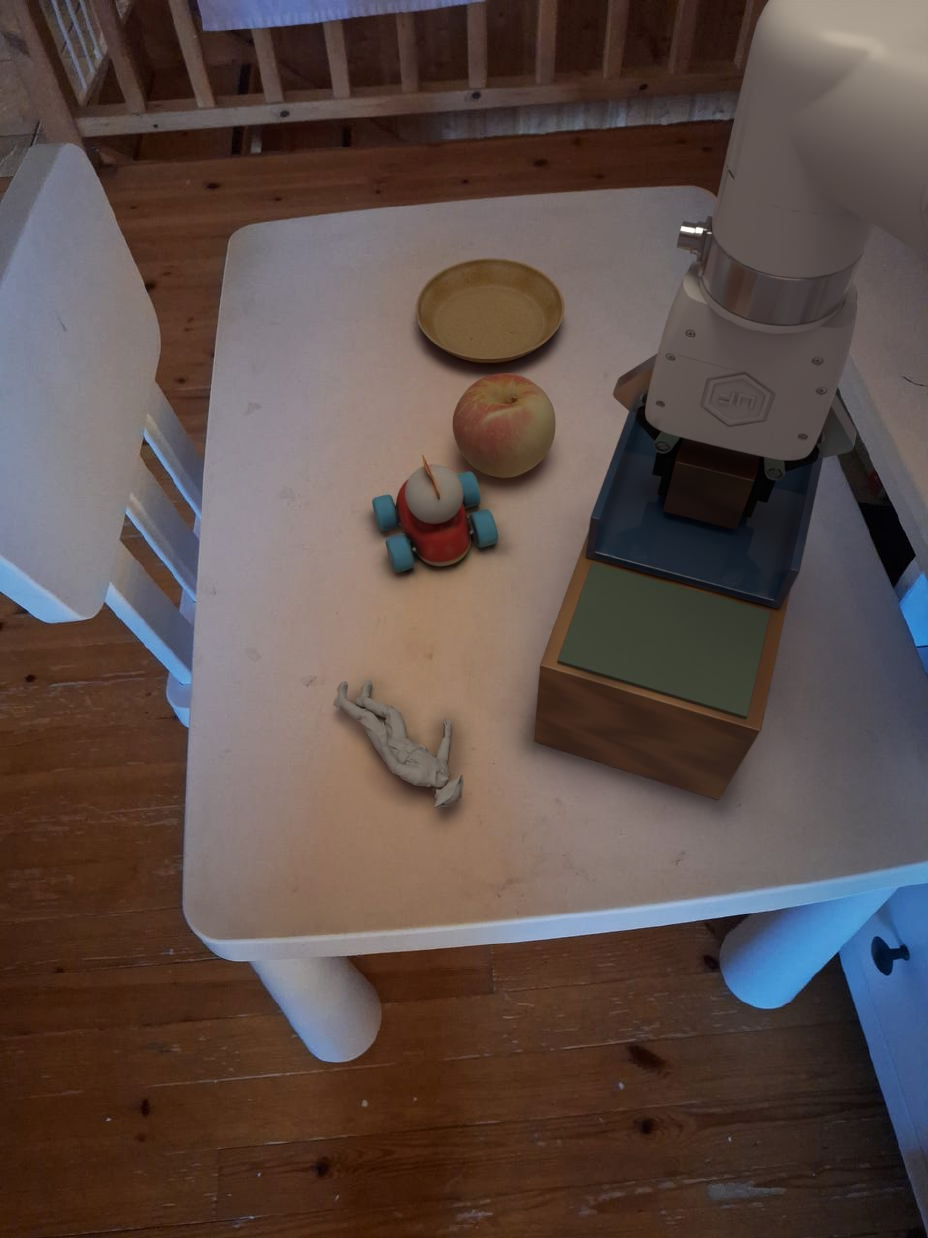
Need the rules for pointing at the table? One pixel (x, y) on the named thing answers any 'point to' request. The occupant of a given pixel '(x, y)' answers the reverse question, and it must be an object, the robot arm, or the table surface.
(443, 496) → the toy car
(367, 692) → the soldier figure
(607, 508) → the blue open box
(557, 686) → the stand
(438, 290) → the plant saucer
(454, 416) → the apple
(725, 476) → the block
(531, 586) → the table surface
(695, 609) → the mat
